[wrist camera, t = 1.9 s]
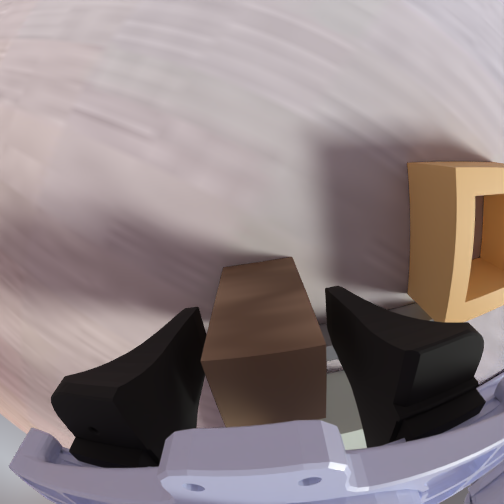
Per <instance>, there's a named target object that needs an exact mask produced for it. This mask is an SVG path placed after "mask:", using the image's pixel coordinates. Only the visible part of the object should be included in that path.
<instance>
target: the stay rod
mask: <svg viewBox="0 0 504 504" xmlns="http://www.w3.org/2000/svg"><path fill="white" fill-rule="evenodd" d="M201 364H202V367H203V370H204V372H205V375H206V378H207V381H208V383H209V386H210V389H211V391H212V394H213V396H214V399H215V401H216V404H217V407H218V409H219V411H220V414H221V416H222V419H223V421H224V424H225V426H226V427H241V426H253V425H263V424H272V423H280V422H288V421H294V420H318V419H323V418H326V393H327V359H326V342H325V340H324V337H323V334H322V332H321V329H320V326H319V324H318V321H317V319H316V316H315V313H314V311H313V308H312V306H311V303H310V300H309V298H308V295H307V293H306V290H305V288H304V285H303V283H302V280H301V278H300V275H299V273H298V270H297V268H296V265H295V263H294V260H293V258H292V257H288V258H282V259H275V260H269V261H262V262H256V263H249V264H243V265H236V266H230V267H223V270H222V274H221V278H220V282H219V286H218V290H217V294H216V298H215V302H214V307H213V311H212V315H211V319H210V323H209V327H208V331H207V335H206V340H205V344H204V348H203V352H202V357H201Z"/></svg>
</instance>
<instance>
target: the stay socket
mask: <svg viewBox="0 0 504 504" xmlns="http://www.w3.org/2000/svg"><path fill="white" fill-rule="evenodd" d="M407 167H408V180H409V196H410V264H409V281H408V293H407V294H408V295H409V296H410V297H411V298H412V299H413V300H414V301H415V302H416V303H417V304H418V305H419V306H420V307H421V308H422V309H423V310H424V311H425V312H426V313H427V314H428V315H429V316H430V317H431V318H432V319H433V320H434V321H436V322H466V321H468V320H470V319H473V318H475V317H478V316H480V315H482V314H485V313H487V312H489V311H492V310H494V309H496V308H498V307H500V306H502V305H504V164H503V163H496V162H411V163H407ZM481 195H484V208H483V230H482V243H481V253H480V258H476V259H472V252H473V241H474V226H475V196H481Z"/></svg>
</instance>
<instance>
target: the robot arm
mask: <svg viewBox="0 0 504 504" xmlns="http://www.w3.org/2000/svg"><path fill="white" fill-rule="evenodd" d="M325 295H326V316H327V329H328V333H329V336H330V339H331V343H332V345H333V348H334V350H335V352H336V354H337V356H338V359H339V361H340V363H341V365H342V367H343V369H344V372H345V374H346V376H347V378H348V380H349V383H350V385H351V388H352V391H353V395H354V398H355V401H356V405H357V408H358V412H359V416H360V420H361V423H362V428H363V432H364V436H365V441H366V446H367V448H362V449H353V450H345V447H344V444H343V440H342V436H341V434H340V432H339V430H338V427H337V426H336V425H333V424H330V423H327V422H324V421H321V420H294V421H288V422H280V423H272V424H263V425H253V426H241V427H223V428H196V424H197V413H198V405H199V399H200V395H201V390H202V386H203V382H204V377H205V372H204V370H203V367H202V364H201V357H202V352H203V348H204V344H205V340H206V332H205V328H204V325H203V321H202V318H201V314H200V311H199V307H193V308H185V309H184V310H182V311H181V312H180V313H179V314H178V315H176V316H175V317H174V318H173V319H172V320H171V321H170V322H168V323H167V324H166V325H165V326H164V327H163V328H161V329H160V330H159V331H158V332H157V333H155V334H154V335H153V336H151V337H150V338H149V339H148V340H146V341H145V342H144V343H142V344H141V345H139V346H138V347H136V348H135V349H133V350H131V351H130V352H128V353H126V354H124V355H123V356H121V357H119V358H117V359H115V360H113V361H111V362H109V363H106V364H104V365H101V366H99V367H96V368H93V369H91V370H88V371H84V372H81V373H77V374H73V375H69V376H65V377H64V378H63V380H62V381H61V383H60V384H59V386H58V387H57V389H56V390H55V392H54V393H53V395H52V396H51V403H52V406H53V408H54V411H55V412H56V414H57V415H58V416H59V418H60V419H61V420H62V421H63V423H64V424H65V425H66V426H67V428H68V429H69V430H70V431H71V432H72V433H73V435H74V436H75V439H74V441H73V443H72V445H71V448H70V449H68V448H65V447H62V445H61V444H60V443H59V442H58V440H57V439H56V438H54V437H53V436H52V435H51V434H49V433H47V432H44V431H41V430H38V429H35V428H31V429H30V431H29V432H28V434H27V436H26V437H25V439H24V441H23V442H22V444H21V446H20V447H19V449H18V451H17V453H16V454H15V456H14V458H13V460H12V462H11V463H10V465H9V468H10V469H11V470H12V471H13V472H14V473H15V474H16V475H18V476H19V477H20V478H21V479H22V480H23V481H25V482H26V483H27V484H28V485H30V486H31V487H32V488H33V489H35V490H36V491H37V492H39V493H40V494H41V495H43V496H44V497H45V498H47V499H48V500H50V501H52V502H54V503H56V504H438V503H440V502H442V501H444V500H446V499H447V498H449V497H451V496H452V495H454V494H455V493H457V492H459V491H461V490H462V489H464V488H465V487H467V486H468V485H470V484H472V485H471V486H470V487H468V491H469V493H468V494H467V495H466V498H465V501H464V504H504V372H503V373H501V374H500V375H498V376H496V377H495V378H493V379H491V380H490V381H488V382H486V383H485V384H483V385H481V386H479V387H478V388H476V387H477V386H478V381H477V380H476V379H475V378H474V375H475V372H476V370H477V367H478V365H479V362H480V360H481V357H482V353H483V349H484V340H483V337H482V335H481V334H480V333H479V332H478V331H476V330H475V329H474V328H473V327H472V326H471V325H470V324H469V323H468V322H436V321H428V320H422V319H417V318H412V317H408V316H404V315H401V314H398V313H395V312H392V311H389V310H386V309H384V308H381V307H379V306H377V305H375V304H372V303H370V302H368V301H366V300H364V299H362V298H361V297H359V296H357V295H355V294H353V293H351V292H350V291H348V290H346V289H344V288H342V287H340V286H335V287H329V288H325Z"/></svg>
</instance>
